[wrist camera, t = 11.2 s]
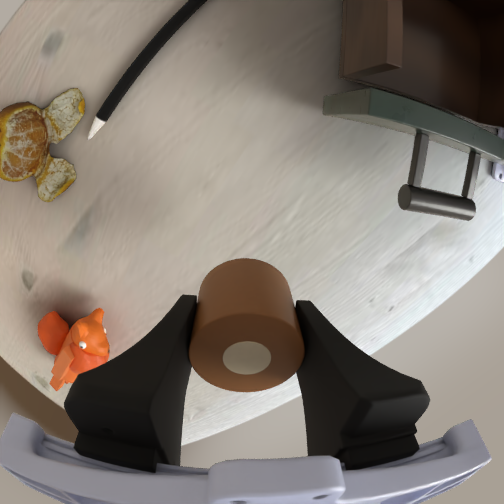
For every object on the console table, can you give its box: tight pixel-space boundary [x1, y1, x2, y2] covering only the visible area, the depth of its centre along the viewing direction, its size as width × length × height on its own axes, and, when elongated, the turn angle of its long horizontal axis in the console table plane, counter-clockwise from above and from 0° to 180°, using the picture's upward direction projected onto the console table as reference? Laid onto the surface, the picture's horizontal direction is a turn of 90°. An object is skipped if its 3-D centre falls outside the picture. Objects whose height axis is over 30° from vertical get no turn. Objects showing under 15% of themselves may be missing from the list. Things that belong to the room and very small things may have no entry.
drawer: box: [323, 0, 504, 221], centre depth 12 cm, size 17×13×7 cm
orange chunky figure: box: [38, 308, 109, 391], centre depth 22 cm, size 5×8×12 cm
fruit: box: [0, 88, 85, 202], centre depth 14 cm, size 8×8×4 cm
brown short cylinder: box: [188, 258, 305, 392], centre depth 12 cm, size 4×4×4 cm
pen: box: [88, 0, 207, 140], centre depth 13 cm, size 1×19×1 cm, turn 140°
